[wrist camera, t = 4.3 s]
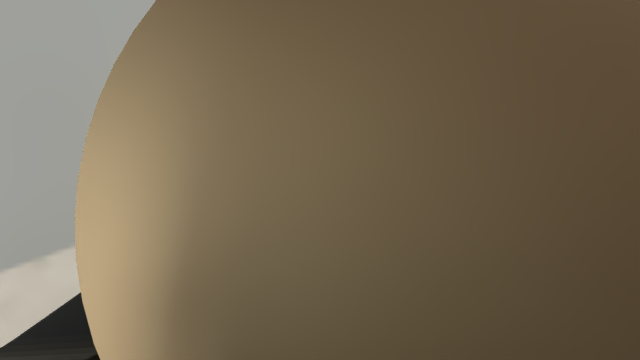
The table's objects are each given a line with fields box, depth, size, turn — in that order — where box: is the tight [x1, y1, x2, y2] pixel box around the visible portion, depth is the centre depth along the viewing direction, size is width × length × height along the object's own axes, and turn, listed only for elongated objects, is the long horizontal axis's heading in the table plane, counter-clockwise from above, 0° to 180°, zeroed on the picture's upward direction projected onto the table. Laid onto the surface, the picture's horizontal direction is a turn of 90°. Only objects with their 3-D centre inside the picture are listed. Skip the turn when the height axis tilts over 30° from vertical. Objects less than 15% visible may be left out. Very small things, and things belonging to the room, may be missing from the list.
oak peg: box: [75, 0, 640, 360], centre depth 9 cm, size 6×6×13 cm
